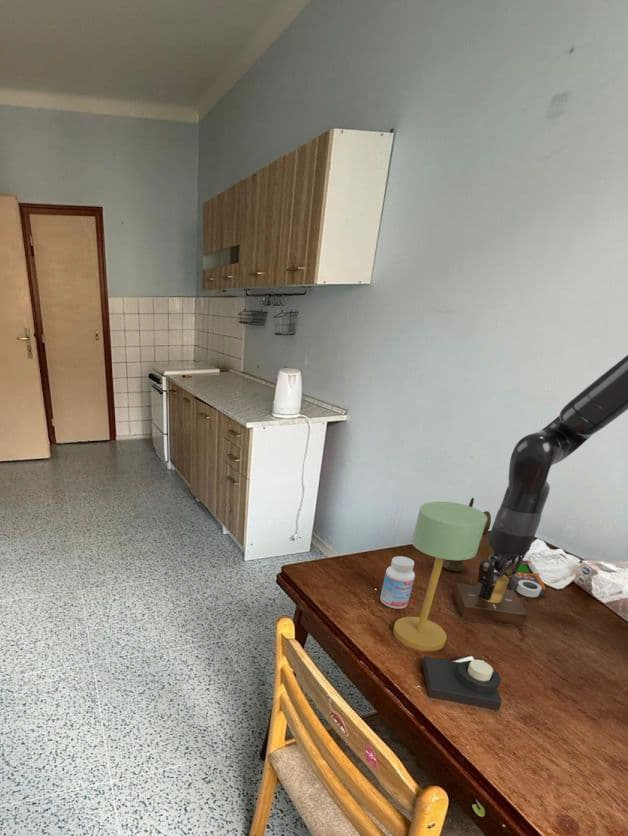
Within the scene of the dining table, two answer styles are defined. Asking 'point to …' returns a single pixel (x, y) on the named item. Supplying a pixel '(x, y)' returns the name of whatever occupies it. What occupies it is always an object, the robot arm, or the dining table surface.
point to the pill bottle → (398, 583)
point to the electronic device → (527, 580)
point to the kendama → (457, 564)
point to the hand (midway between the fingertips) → (490, 594)
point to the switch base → (460, 684)
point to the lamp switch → (480, 670)
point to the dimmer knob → (499, 590)
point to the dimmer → (489, 606)
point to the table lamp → (440, 562)
